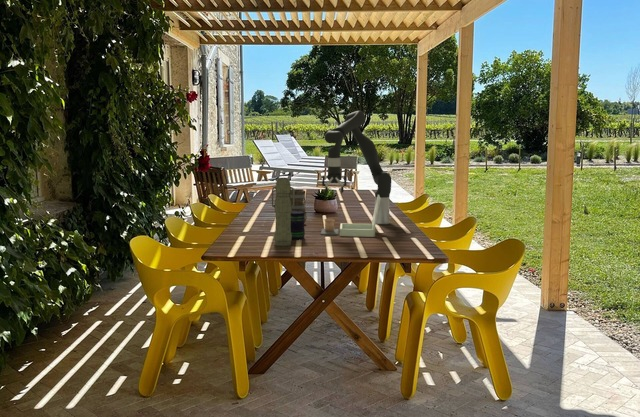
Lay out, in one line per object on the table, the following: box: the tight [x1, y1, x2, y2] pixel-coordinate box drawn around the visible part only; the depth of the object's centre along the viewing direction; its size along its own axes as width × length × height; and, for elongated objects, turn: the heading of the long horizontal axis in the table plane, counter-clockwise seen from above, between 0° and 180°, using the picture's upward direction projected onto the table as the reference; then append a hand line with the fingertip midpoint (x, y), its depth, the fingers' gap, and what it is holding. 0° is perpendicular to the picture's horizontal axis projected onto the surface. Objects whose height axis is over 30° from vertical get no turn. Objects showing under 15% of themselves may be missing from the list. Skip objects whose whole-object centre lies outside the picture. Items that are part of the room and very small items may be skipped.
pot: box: [324, 218, 336, 232], centre depth 338 cm, size 6×6×7 cm
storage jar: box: [291, 211, 306, 241], centre depth 318 cm, size 10×10×15 cm
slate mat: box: [320, 228, 340, 236], centre depth 338 cm, size 10×16×1 cm, turn 177°
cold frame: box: [339, 195, 381, 238], centre depth 336 cm, size 23×20×22 cm
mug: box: [290, 189, 306, 212], centre depth 425 cm, size 20×14×15 cm
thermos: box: [271, 177, 296, 247], centre depth 300 cm, size 9×12×35 cm
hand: (334, 193), depth 339 cm, fingers open, 8 cm apart
